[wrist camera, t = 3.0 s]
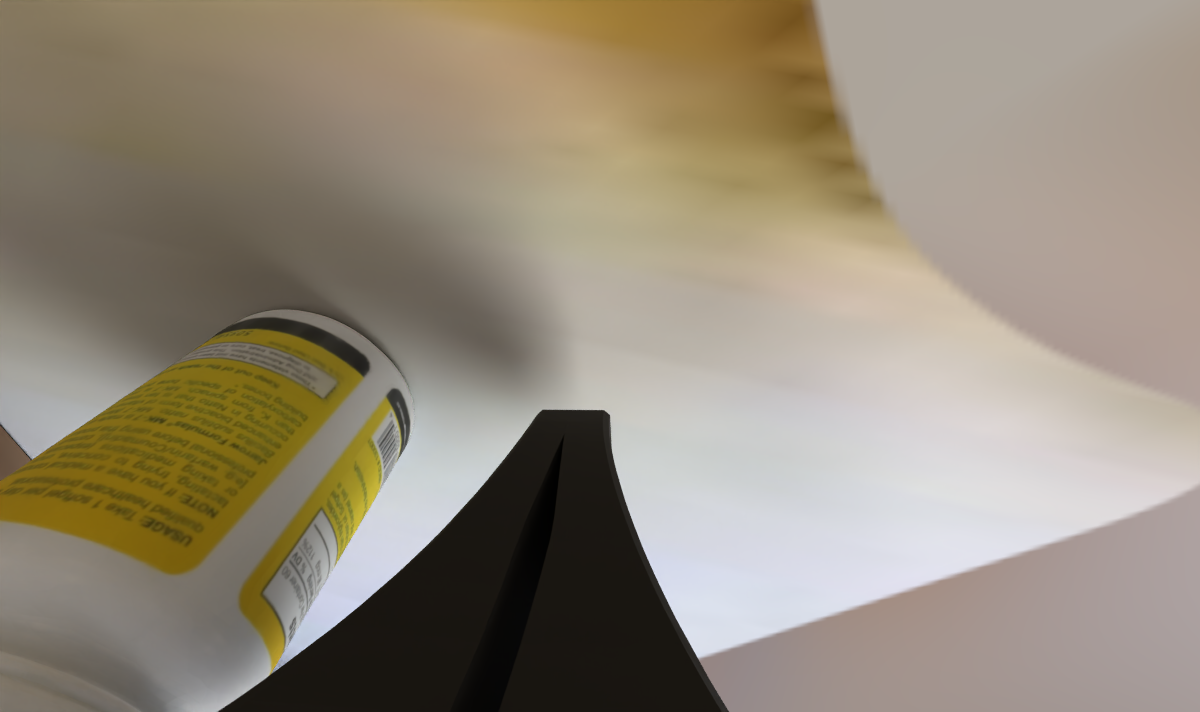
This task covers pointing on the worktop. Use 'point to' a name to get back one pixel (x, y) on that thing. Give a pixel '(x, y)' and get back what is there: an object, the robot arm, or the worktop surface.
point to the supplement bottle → (194, 520)
